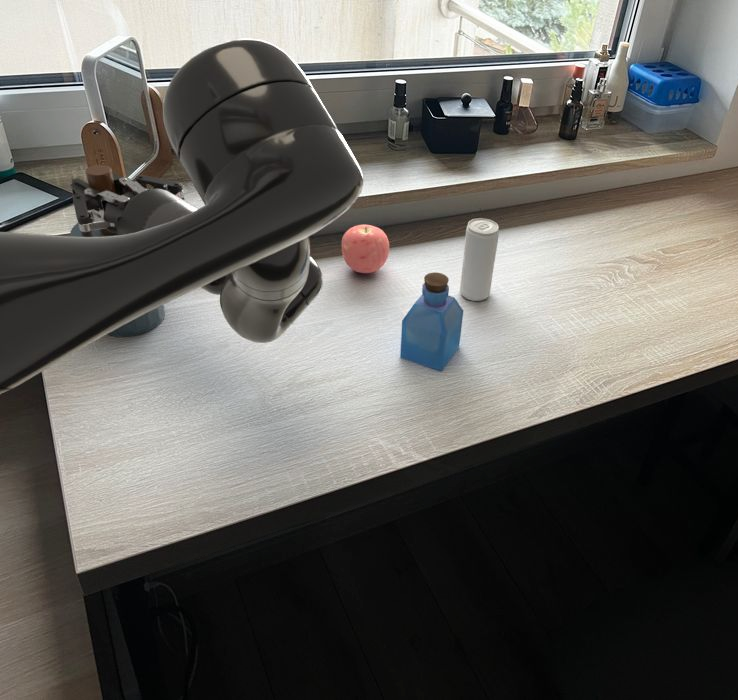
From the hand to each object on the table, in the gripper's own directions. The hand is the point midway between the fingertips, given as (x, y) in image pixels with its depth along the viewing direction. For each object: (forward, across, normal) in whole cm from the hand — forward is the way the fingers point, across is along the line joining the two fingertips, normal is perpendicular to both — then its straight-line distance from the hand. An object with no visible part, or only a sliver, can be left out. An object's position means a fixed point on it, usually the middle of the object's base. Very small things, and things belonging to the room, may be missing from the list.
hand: (89, 182), depth 88 cm
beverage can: (-32, -40, +20) cm, 55 cm away
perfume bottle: (-36, -24, +20) cm, 48 cm away
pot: (-2, 0, +20) cm, 20 cm away
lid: (-3, 0, +6) cm, 7 cm away
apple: (-15, -32, +20) cm, 41 cm away
